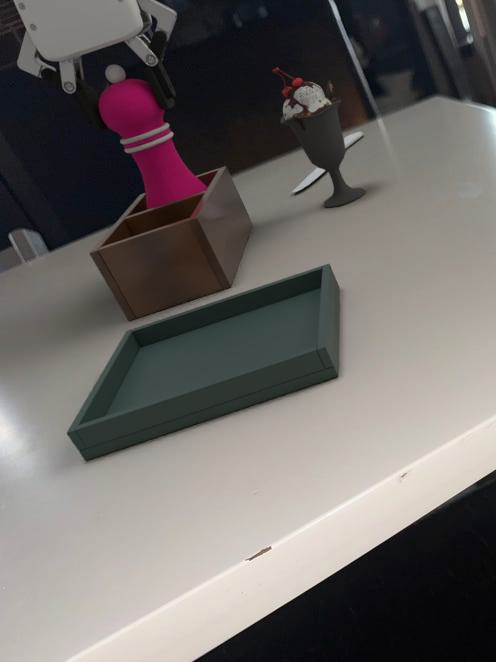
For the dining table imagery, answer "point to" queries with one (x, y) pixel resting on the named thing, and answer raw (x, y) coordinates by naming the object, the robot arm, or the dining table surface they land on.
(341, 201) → the sundae
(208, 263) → the divided box
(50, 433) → the dining table surface
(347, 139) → the butter knife
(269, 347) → the tray
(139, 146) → the pepper mill
